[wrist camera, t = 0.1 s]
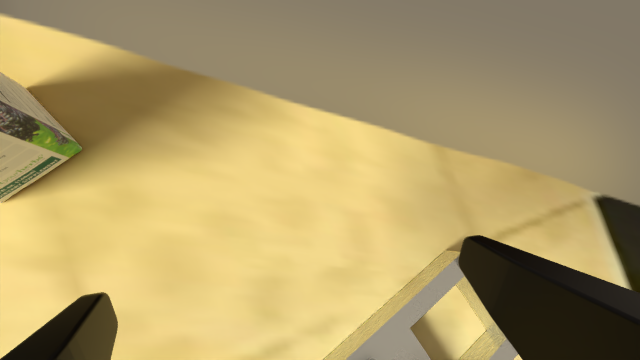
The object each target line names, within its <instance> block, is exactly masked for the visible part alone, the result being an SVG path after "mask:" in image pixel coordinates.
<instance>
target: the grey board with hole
mask: <svg viewBox="0 0 640 360" xmlns="http://www.w3.org/2000/svg"><path fill="white" fill-rule="evenodd" d="M459 255H460V252H456V251H448V250H445V251H444V252H443V253H442V254H441V255H440V256H439V257H438V258H436V259H435V260H434V261H433V262H432V263H431V264H430V265H429V266H428V267H426V268H425V269H424V270H423V271H422V272H421V273H420V274H419V275H417V276H416V277H415V278H414V279H413V280H412V281H411V282H410V283H409V284H407V285H406V286H405V287H404V288H403V289H402V290H401V291H400V292H398V293H397V294H396V295H395V296H394V297H393V298H392V299H391V300H390V301H388V302H387V303H386V304H385V305H384V306H383V307H382V308H381V309H379V310H378V311H377V312H376V313H375V314H374V315H373V316H372V317H371V318H369V319H368V320H367V321H366V322H365V323H364V324H363V325H362V326H360V327H359V328H358V329H357V330H356V331H355V332H354V333H353V334H352V335H350V336H349V337H348V338H347V339H346V340H345V341H344V342H343V343H341V344H340V345H339V346H338V347H337V348H336V349H335V350H334V351H333V352H331V353H330V354H329V355H328V356H327V357H326V358H325V359H324V360H431V359H430V357H429V356H428V354H427V353H426V351H425V350H424V348H423V347H422V345H421V344H420V342H419V341H418V339H417V338H416V336H415V335H414V333H413V332H412V330H411V329H410V328H411V327H412V326H413V325H414V324H415V323H416V322H417V321H418V320H419V319H420V318H421V317H422V316H423V315H424V314H425V313H426V312H427V311H428V310H429V309H430V308H431V307H433V306H434V305H435V304H436V303H437V302H438V301H439V300H440V299H441V298H442V297H443V296H444V295H445V294H446V293H447V292H448V291H449V290H450V289H451V288H452V287H453V286H454V285H457V287H458V288H459V290H460V291H461V293H462V294H463V296H464V297H465V299H466V300H467V302H468V303H469V305H470V306H471V308H472V309H473V311H474V312H475V314H476V315H477V317H478V318H479V320H480V321H481V323H482V324H483V326H484V327H485V329H486V332H485V333H484V334H483V335H482V336H481V337H480V338H479V339H478V340H477V341H476V342H475V343H474V344H473V345H472V347H471V348H470V349H469V350H468V351H467V352H466V353H465V354H464V355H463V356H462V357H461V358H460V359H459V360H513V359H514V358H515V357H516V356H517V355H518V353H517V351H516V350H515V349H514V347H513V346H512V345H511V343H510V342H509V341H508V339H507V338H506V337H505V335H504V334H503V333H502V331H501V330H500V329H499V327H498V326H497V325H496V323H495V322H494V321H493V319H492V318H491V316H490V315H489V313H488V312H487V310H486V309H485V307H484V306H483V304H482V302H481V301H480V299H479V298H478V296H477V295H476V293H475V291H474V290H473V288H472V287H471V285H470V283H469V282H468V280H467V279H466V277H465V275H464V274H463V272H462V271H461V269H460V267H459V264H458V258H459Z"/></svg>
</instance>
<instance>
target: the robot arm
mask: <svg viewBox="0 0 640 360" xmlns="http://www.w3.org/2000/svg"><path fill="white" fill-rule="evenodd" d="M458 264H459V267H460V269H461V271H462V272H463V274H464V275H465V277H466V279H467V280H468V282H469V283H470V285H471V287H472V288H473V290H474V291H475V293H476V295H477V296H478V298H479V299H480V301H481V302H482V304H483V306H484V307H485V309H486V310H487V312H488V313H489V315H490V316H491V318H492V319H493V321H494V322H495V323H496V325H497V326H498V327H499V329H500V330H501V331H502V333H503V334H504V335H505V337H506V338H507V339H508V341H509V342H510V343H511V345H512V346H513V347H514V349H515V350H516V351H517V353H518V354H519V355H520V357H521V358H522V359H523V360H640V293H637V292H635V291H632V290H629V289H626V288H624V287H621V286H618V285H616V284H613V283H610V282H607V281H605V280H602V279H599V278H596V277H594V276H591V275H588V274H585V273H583V272H580V271H577V270H574V269H572V268H569V267H566V266H563V265H561V264H558V263H555V262H552V261H550V260H547V259H544V258H541V257H539V256H536V255H533V254H531V253H528V252H525V251H522V250H520V249H517V248H514V247H511V246H509V245H506V244H503V243H500V242H498V241H495V240H492V239H489V238H487V237H484V236H481V235H475V236H468V237H466V238H465V239H464V241H463V244H462V248H461V251H460V255H459V258H458ZM117 328H118V322H117V317H116V314H115V312H114V309H113V306H112V303H111V300H110V298H109V296H108V294H107V293H104V292H101V293H95V294H88V295H84V296H81V297H80V298H78V299H77V300H76V301H75V302H73V303H72V304H71V305H69V306H68V307H67V308H66V309H64V310H63V311H62V312H60V313H59V314H58V315H57V316H55V317H54V318H53V319H51V320H50V321H49V322H47V323H46V324H45V325H44V326H42V327H41V328H40V329H38V330H37V331H36V332H35V333H33V334H32V335H31V336H29V337H28V338H27V339H26V340H24V341H23V342H22V343H20V344H19V345H18V346H17V347H15V348H14V349H13V350H11V351H10V352H9V353H7V354H6V355H5V356H4V357H2V358H1V359H0V360H111V355H112V351H113V347H114V342H115V338H116V334H117Z"/></svg>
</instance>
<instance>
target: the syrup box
mask: <svg viewBox="0 0 640 360" xmlns="http://www.w3.org/2000/svg"><path fill="white" fill-rule="evenodd" d="M81 150H82V147H81V146H80V145H79V144H78V143H77V142H76V141H75V139H74V138H73V137H72V136H71V135H70V134H69V133H68V132H67V131H66V130H65V129H64V128H63V127H62V126H61V125H60V124H59V123H58V122H57V121H56V120H55V119H54V118H53V117H52V116H51V115H50V114H49V113H48V112H47V111H46V109H45V108H44V107H43V106H42V105H41V104H40V103H39V102H38V101H37V100H36V99H35V98H34V97H33V96H32V95H31V94H30V92H29V91H28V90H27V89H26V88H24V87H23V86H22V85H20V84H19V83H17V82H15V81H14V80H12V79H10V78H9V77H7V76H5V75H4V74H2V73H1V72H0V203H2V202H4V201H6V200H7V199H8V198H10V197H11V196H12V195H14V194H15V193H17V192H19V191H20V190H21V189H23V188H25V187H27V186H28V185H30V184H31V183H33V182H35V181H36V180H38V179H39V178H41V177H42V176H44V175H45V174H47V173H48V172H50V171H51V170H53V169H54V168H56V167H57V166H59V165H60V164H62V163H63V162H65V161H66V160H68V159H69V158H71V157H72V156H74V155H75V154H76V153H78V152H80V151H81Z"/></svg>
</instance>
